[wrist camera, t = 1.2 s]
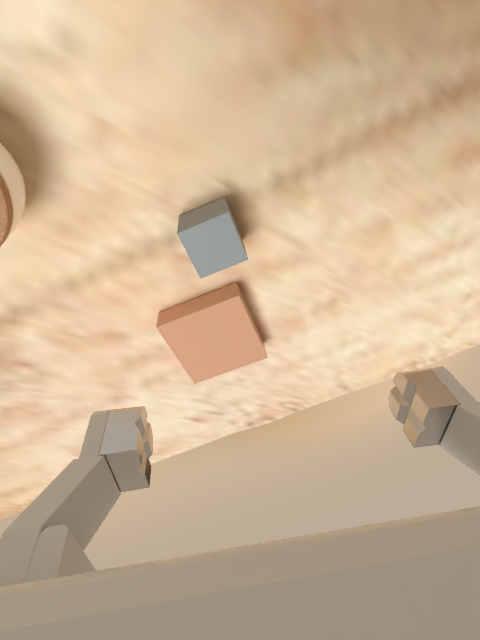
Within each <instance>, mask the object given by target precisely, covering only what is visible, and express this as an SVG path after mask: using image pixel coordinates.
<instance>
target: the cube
mask: <svg viewBox="0 0 480 640" xmlns="http://www.w3.org/2000/svg"><path fill="white" fill-rule="evenodd" d="M177 234H178V236H179V238H180V240H181V242H182V244H183V246H184V247H185V249H186V251H187V253H188V255H189V257H190V259H191V261H192V263H193V265H194V267H195V269H196V271H197V272H198V274H199V276H200V278H203V277H206V276H208V275H211V274H213V273H216V272H218V271H221V270H223V269H226V268H228V267H231V266H233V265H236V264H238V263H241V262H243V261H246V260H248V257H247V254H246V251H245V247H244V244H243V240H242V238H241V235H240V233H239V230H238V228H237V225H236V223H235V220H234V218H233V215H232V213H231V210H230V208H229V205H228V203H227V200H226V198H225V196H224V197H221V198H219V199H217V200H214V201H212V202H210V203H207V204H205V205H203V206H200V207H198V208H196V209H193V210H191V211H189V212H186V213H184V214H182V215H179V222H178V231H177Z"/></svg>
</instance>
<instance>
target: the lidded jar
mask: <svg viewBox="0 0 480 640" xmlns="http://www.w3.org/2000/svg"><path fill="white" fill-rule="evenodd" d="M25 204H26V191H25V184H24V180H23V176H22V174H21V171H20V169H19V167H18V165H17V163H16V162H15V160H14V158H13V157H12V156H11V154H10V153H9V152H8V150H7V149H6V148H5V147H4V146H3V145H2V144H1V143H0V246H1V245H2V244H3V243H4V241H5V240H6V239H7V238H8V237H9V236H10V234H11V233H12V232H13V231H14V230H15V228H16V227H17V225H18V223H19V221H20V220H21V218H22V215H23V212H24V208H25Z"/></svg>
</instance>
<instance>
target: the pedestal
mask: <svg viewBox="0 0 480 640" xmlns="http://www.w3.org/2000/svg"><path fill="white" fill-rule="evenodd" d="M157 329H158V330H159V332H160V333H161V335H162V336H163V338H164V339H165V341H166V342H167V344H168V345H169V347H170V348H171V349H172V351H173V352H174V354H175V355H176V357H177V358H178V360H179V361H180V363H181V364H182V366H183V367H184V369H185V370H186V372H187V373H188V374H189V376H190V377H191V379H192V380H193V382H194V383H195V384H196V383H198V382H201V381H204V380H207V379H209V378H212V377H215V376H218V375H221V374H223V373H226V372H229V371H232V370H235V369H237V368H240V367H243V366H246V365H249V364H251V363H254V362H257V361H260V360H262V359H265V358H267V354H266V350H265V346H264V342H263V340H262V338H261V336H260V333H259V331H258V329H257V327H256V325H255V322H254V320H253V318H252V316H251V314H250V311H249V309H248V307H247V305H246V303H245V300H244V298H243V296H242V294H241V292H240V289H239V287H238V285H237V283H236V282H235V283H232V284H230V285H227V286H225V287H222V288H220V289H217V290H215V291H212V292H210V293H207V294H204V295H202V296H199V297H197V298H194V299H192V300H189V301H187V302H184V303H182V304H179V305H176V306H174V307H171V308H169V309H166V310H164V311H161V312H159V314H158V320H157Z"/></svg>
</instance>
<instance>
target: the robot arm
mask: <svg viewBox="0 0 480 640" xmlns="http://www.w3.org/2000/svg"><path fill="white" fill-rule="evenodd" d="M393 382H394V384H395V385H396V386H395V387H394V388H393V389H392V390H391V391H390V394H389V405H390V409H391V411H392V414H393V415H394V417H395V419H396V420H398V421H400V422H401V423H403V424H404V427H403V431H404V433H405V434H406V436H407V438H408V439H409V441H410V442H411V444H412V445H413V447H414V448H415V447H423V446H431V445H440V446H441V447H442V448H443V449H445V450H446V451H447V452H449V453H450V454H451V455H453V456H454V457H456V458H457V459H458V460H460V461H461V462H462V463H464V464H465V465H466V466H468V467H469V468H471V469H472V470H474V471H475V472H476V473H478V474H479V475H480V402H477V401H476V400H475V399H474V398H473V397H472V396H471V395H470V394H469V393H468V391H467V390H466V389H465V388H464V387H463V386H462V385H461V384H460V383H459V382H458V381H457V380H456V379H455V378H454V376H453V375H452V374H451V373H450V372H449V371H448V370H447V369H446V368H444V367H436V368H428V369H421V370H413V371H406V372H399V373H397V374H396V375H395V376H394V379H393ZM152 453H153V435H152V429H151V425H150V423H148V422H147V412H146V409H145V407H144V406H142V407H132V408H123V409H113V410H107V411H97V412H94V413H93V414H92V416H91V418H90V421H89V425H88V428H87V432H86V435H85V439H84V442H83V446H82V449H81V453H80V456H79V459H74V460H73V461H72V462H71V463H70V464H69V465H68V466H67V467H66V468H65V469H64V470H63V471H62V472H61V473H60V474H59V475H58V476H57V477H56V478H55V479H54V480H53V481H52V482H51V483H50V484H49V486H48V487H47V488H46V489H45V490H44V491H43V492H42V493H41V494H40V495H39V496H38V497H37V498H36V499H35V500H34V501H33V502H32V503H31V504H30V505H29V506H28V507H27V508H26V509H25V510H24V511H23V512H22V513H21V515H19V517H18V518H17V519H16V520H15V521H14V522H13V523H12V524H11V525H10V526H9V527H8V528H7V529H6V530H5V531H4V532H3V534H2V537H1V539H0V640H480V506H479V507H473V508H467V509H461V510H455V511H449V512H443V513H438V514H431V515H425V516H420V517H413V518H407V519H401V520H396V521H389V522H383V523H377V524H371V525H365V526H359V527H354V528H347V529H341V530H336V531H329V532H324V533H318V534H312V535H306V536H300V537H294V538H288V539H282V540H276V541H271V542H264V543H258V544H252V545H246V546H240V547H234V548H228V549H222V550H217V551H211V552H205V553H199V554H193V555H187V556H181V557H175V558H169V559H163V560H157V561H151V562H145V563H139V564H134V565H127V566H121V567H115V568H109V569H104V570H97V571H96V570H95V569H94V567H93V565H92V564H91V562H90V561H89V559H88V558H87V556H86V555H85V553H84V552H83V551H84V550H85V548H86V547H87V545H88V543H89V542H90V540H91V539H92V537H93V536H94V534H95V533H96V531H97V530H98V528H99V527H100V525H101V524H102V522H103V520H104V519H105V518H106V516H107V514H108V513H109V511H110V510H111V508H112V507H113V505H114V504H115V502H116V501H117V499H118V498H119V496H120V495H121V494H120V492H126V491H131V490H136V489H142V488H148V487H149V486H150V475H151V465H150V461H149V458H150V456H151V455H152Z"/></svg>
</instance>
